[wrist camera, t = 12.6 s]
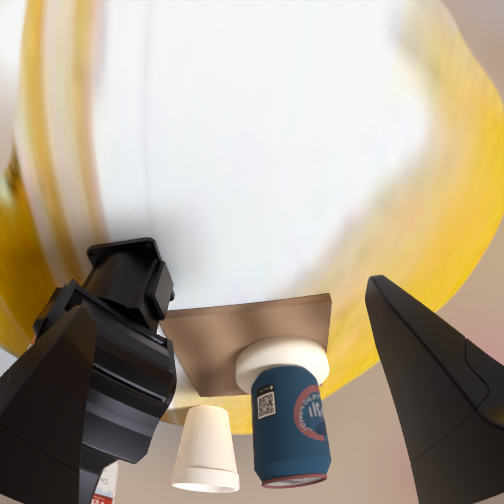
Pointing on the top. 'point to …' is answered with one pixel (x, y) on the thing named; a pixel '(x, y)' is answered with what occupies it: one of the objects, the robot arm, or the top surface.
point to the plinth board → (249, 341)
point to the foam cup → (206, 452)
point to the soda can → (288, 428)
